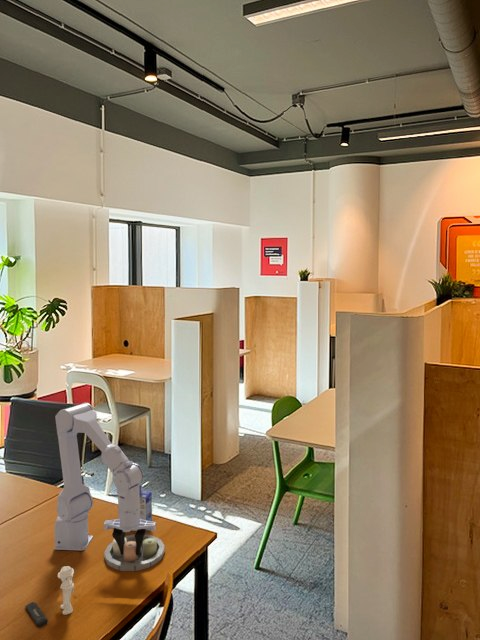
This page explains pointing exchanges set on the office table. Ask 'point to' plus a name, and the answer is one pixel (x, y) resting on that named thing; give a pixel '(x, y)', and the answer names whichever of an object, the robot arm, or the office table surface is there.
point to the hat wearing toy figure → (66, 588)
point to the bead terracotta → (130, 551)
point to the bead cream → (117, 549)
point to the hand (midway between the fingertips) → (130, 553)
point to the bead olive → (149, 547)
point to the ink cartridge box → (144, 505)
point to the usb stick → (36, 614)
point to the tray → (141, 561)
